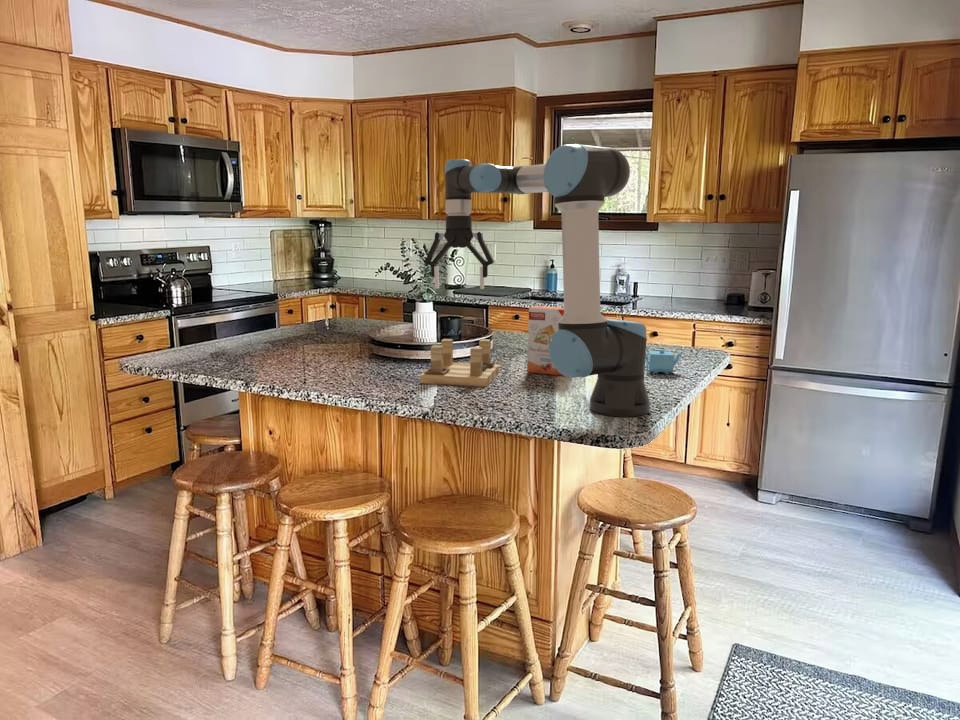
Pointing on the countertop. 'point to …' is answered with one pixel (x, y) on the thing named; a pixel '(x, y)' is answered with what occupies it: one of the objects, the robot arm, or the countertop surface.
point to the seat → (461, 369)
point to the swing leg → (485, 352)
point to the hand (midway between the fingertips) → (459, 288)
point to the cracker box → (542, 338)
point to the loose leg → (436, 358)
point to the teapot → (661, 361)
